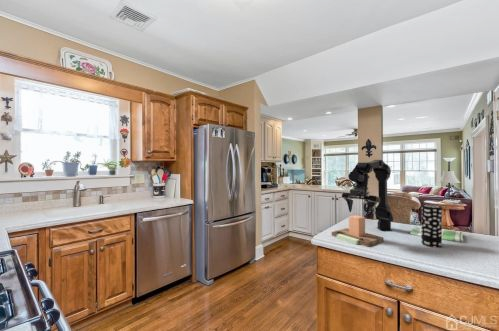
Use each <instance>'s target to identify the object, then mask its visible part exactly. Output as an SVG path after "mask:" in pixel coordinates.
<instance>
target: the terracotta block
mask: <svg viewBox="0 0 499 331" xmlns="http://www.w3.org/2000/svg"><path fill="white" fill-rule="evenodd" d="M348 228H349V234H351V235H354V236H358V237H360V236H363V235H365V233H366V217H365V216H361V215H355V214H354V215H350V216H348Z"/></svg>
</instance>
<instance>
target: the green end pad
mask: <svg viewBox="0 0 499 331" xmlns="http://www.w3.org/2000/svg"><path fill="white" fill-rule="evenodd" d="M336 239H338V240H340V241H344V242H346V243H350V244H353V245H359V244H358V240H359V239H355V238H352V237H349V236H345V235H342V234H338V235H337V237H336Z"/></svg>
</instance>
